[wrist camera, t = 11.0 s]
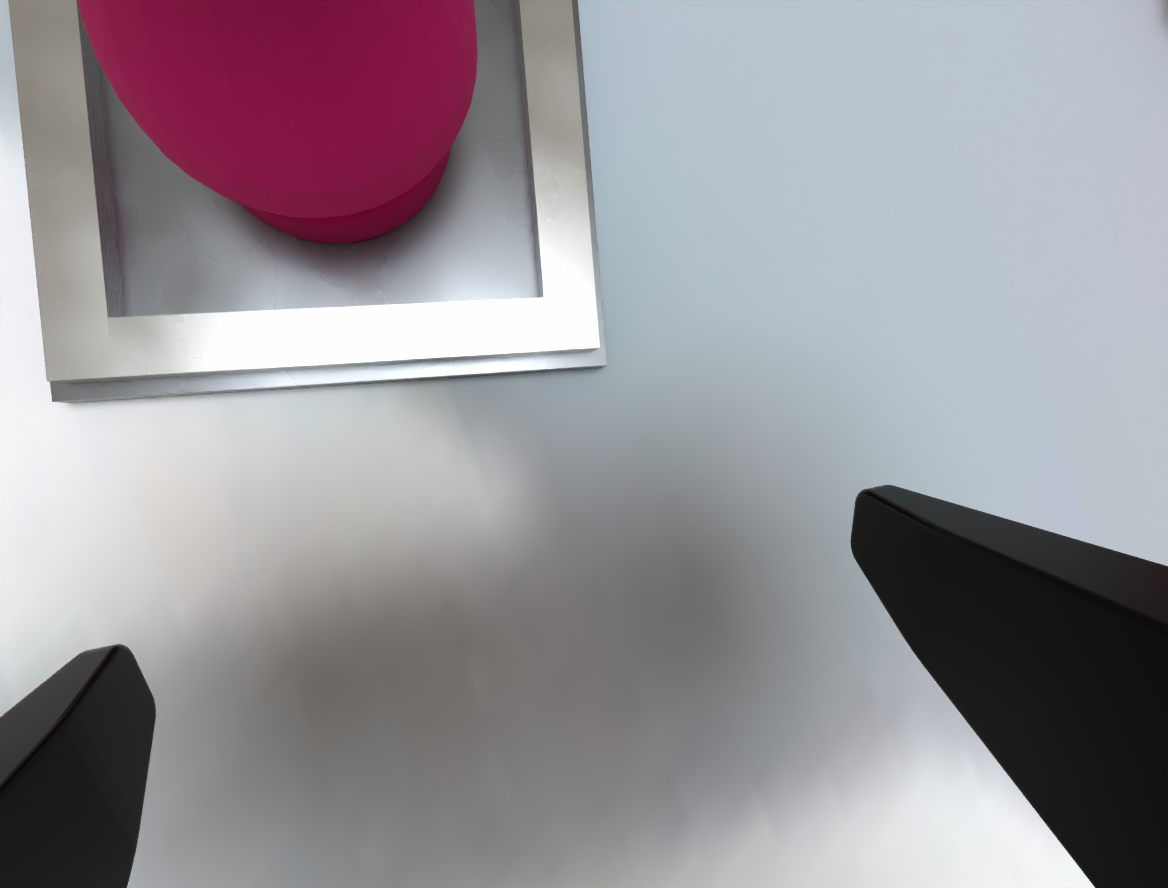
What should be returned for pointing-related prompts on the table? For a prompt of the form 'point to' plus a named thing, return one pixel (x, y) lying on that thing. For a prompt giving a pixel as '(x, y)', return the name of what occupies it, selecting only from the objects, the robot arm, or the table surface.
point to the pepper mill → (297, 100)
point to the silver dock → (302, 267)
